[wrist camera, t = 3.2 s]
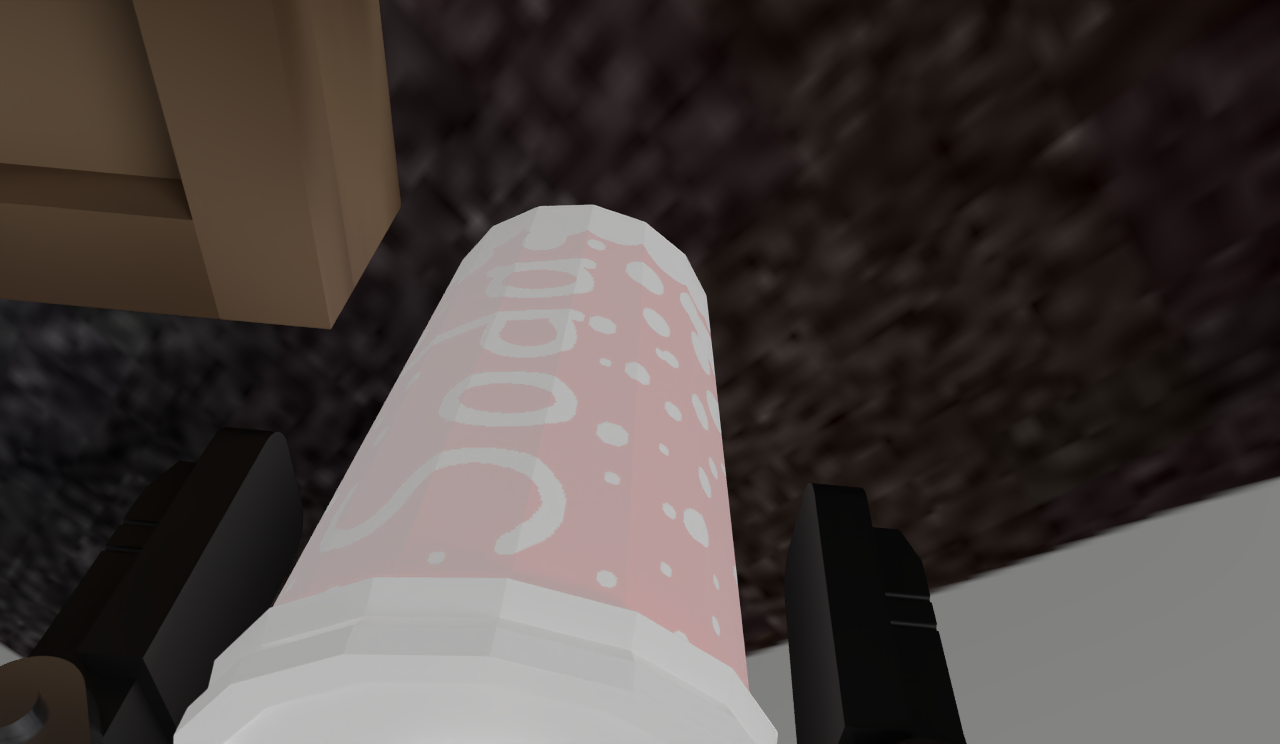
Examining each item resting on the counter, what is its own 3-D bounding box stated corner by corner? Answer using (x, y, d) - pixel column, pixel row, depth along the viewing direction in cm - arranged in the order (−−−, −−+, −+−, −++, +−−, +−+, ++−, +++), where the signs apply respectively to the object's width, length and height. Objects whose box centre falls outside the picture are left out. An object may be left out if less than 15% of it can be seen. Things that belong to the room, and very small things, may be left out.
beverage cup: (788, 190, 14) (1074, 1995, 3) (716, 462, 18) (732, 1711, 7) (404, 132, 14) (-729, 1868, 3) (413, 421, 18) (-61, 1644, 7)
